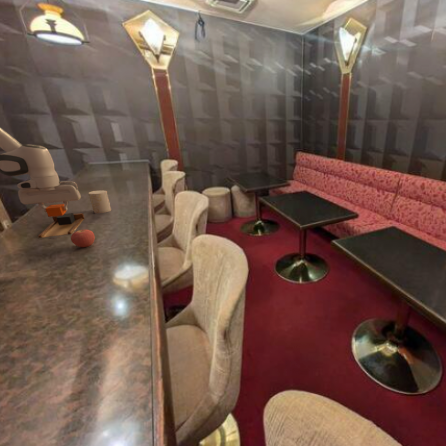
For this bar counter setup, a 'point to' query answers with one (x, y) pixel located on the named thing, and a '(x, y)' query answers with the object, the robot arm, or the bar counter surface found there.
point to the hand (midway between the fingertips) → (56, 211)
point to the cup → (100, 201)
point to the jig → (62, 227)
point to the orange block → (55, 210)
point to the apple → (83, 238)
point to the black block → (66, 219)
